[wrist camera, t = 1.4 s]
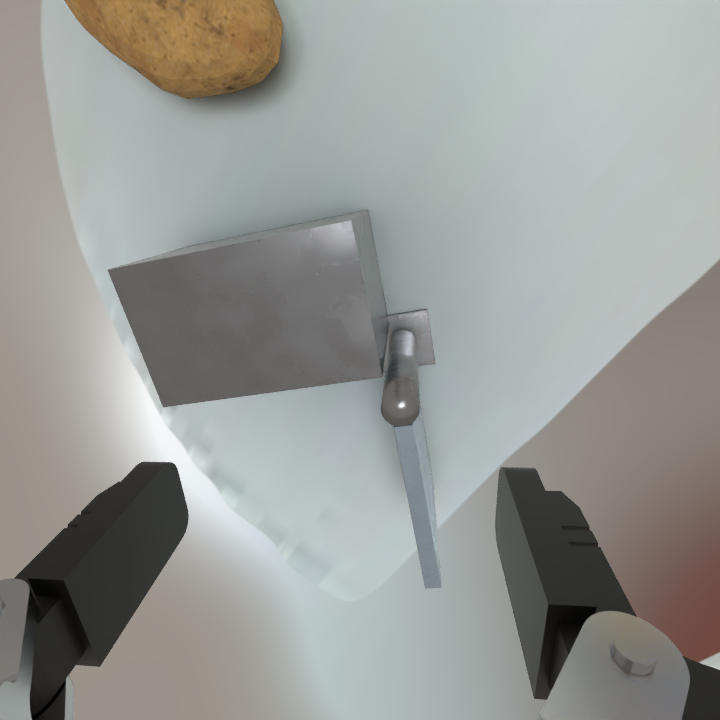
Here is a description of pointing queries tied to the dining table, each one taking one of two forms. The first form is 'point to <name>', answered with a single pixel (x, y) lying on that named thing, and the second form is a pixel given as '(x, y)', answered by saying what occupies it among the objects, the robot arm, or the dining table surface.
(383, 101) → the dining table surface
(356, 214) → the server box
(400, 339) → the dough scraper
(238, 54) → the potato
